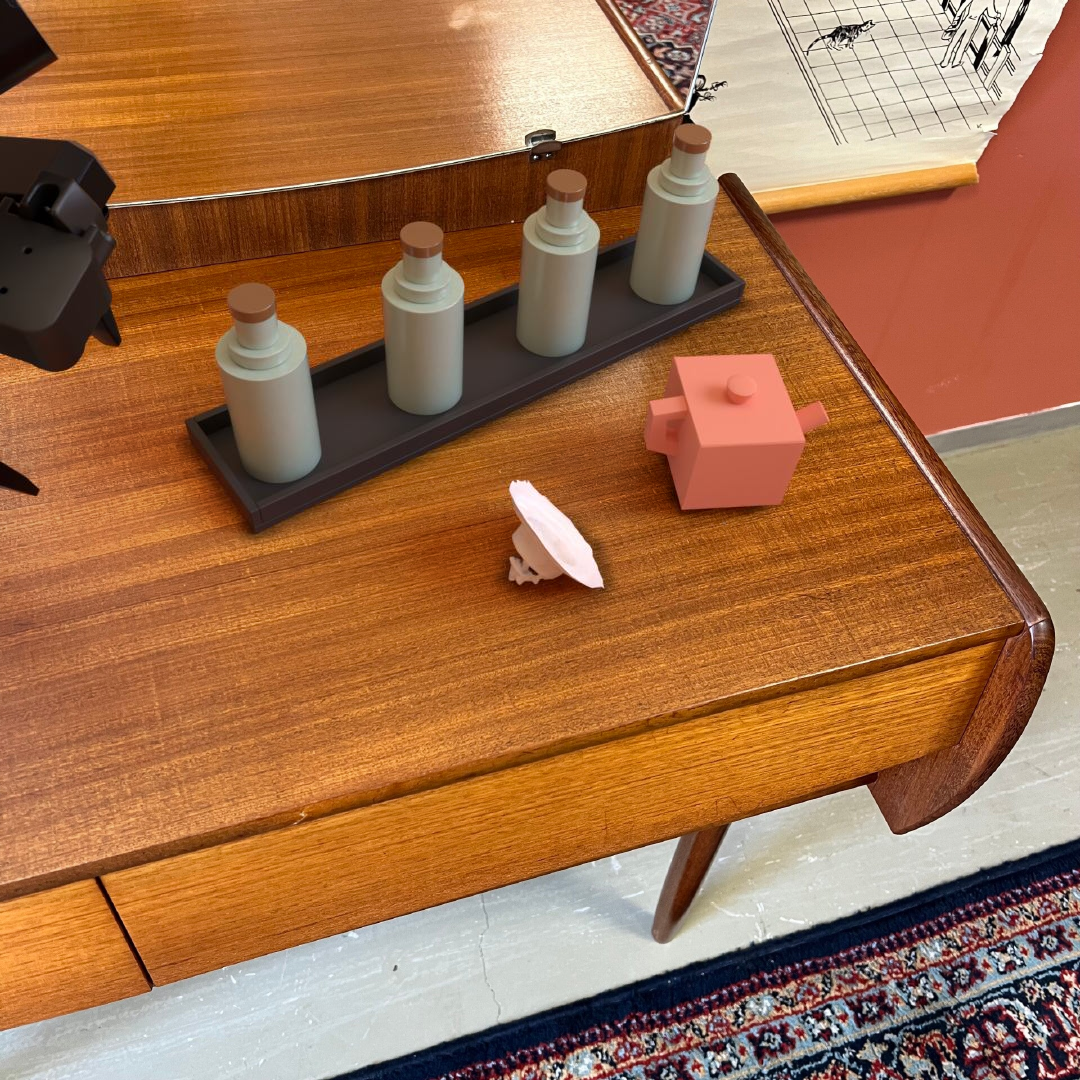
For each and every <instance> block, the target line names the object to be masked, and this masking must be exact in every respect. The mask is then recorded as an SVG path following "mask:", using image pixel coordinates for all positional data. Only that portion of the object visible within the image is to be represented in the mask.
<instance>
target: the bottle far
mask: <svg viewBox="0 0 1080 1080" xmlns="http://www.w3.org/2000/svg"><path fill="white" fill-rule="evenodd" d="M712 139H713V135H712V132H711V131H710V130H709V129H708V128H707V127H705V126H703V125H700V124H697V123H683V124H680V125H678V126H676V128H675V129H674V132H673V137H672V144H673V146H672V150H671V155H670V157H668V158H666V159H665V160H663V161H662V163H661V164H658V165H657V166H655V167H652V169H651V170H650V171H649V172H648V174H647V177H646V182H645V189H644V194H643V200H642V206H641V211H640V216H639V222H638V228H637V233H636V234H637V238H636V244H635V250H634V255H633V261H632V267H631V272H630V278H629V282H630V286H631V288H632V289H633V291H634V292H635V293H636V294H637V295H638V296H640V297H641V298H643V299H644V300H646V301H649V302H652V303H655V304H660V305H674V304H679V303H682V302H684V301H686V300H688V299H689V298H690V297H691V296H692V295H693V293H694V290H695V286H696V282H697V278H698V274H699V270H700V266H701V262H702V258H703V253H704V249H706V245H707V241H708V238H709V232H710V228H711V225H712V221H713V216H714V213H715V212H714V211H715V208H716V204H717V200H718V195H719V192H720V185H719V181H718V180H717V178H716V177H715V176H714V175H713V173H711V169H710V167H709V166H708V165H707V163H706V160H707V155H708V151H709V149H710V148H711V145H712Z"/></svg>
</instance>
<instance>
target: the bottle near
mask: <svg viewBox="0 0 1080 1080" xmlns="http://www.w3.org/2000/svg"><path fill="white" fill-rule="evenodd" d="M444 237H445V235H444V232H443V229H442V228H441V227H439V226H438V225H436V224H435V223H432V222H429V221H413V222H410V223H407V224H406V225H404V226H403V227H402V228H401V230H400V232H399V247H400V249H401V251H402V252H401V253H402V254H401V255H402V256H401V257H402V259H401V260H400V261H399V262H397V263H396V264H395V265H394V266H393V267H392V268H390V269H389V270H388V271H387V272H386V273H385V274H384V276H383V278H382V280H381V283H380V290H381V291H380V292H381V309H382V323H383V325H382V326H383V336H384V337H383V338H384V341H385V357H386V372H387V388H388V394H389V397H390V399H391V400H392V402H393V403H394V404H395V405H396V406H397V407H399V408H400V409H402V410H404V411H406V412H408V413H411V414H415V415H435V414H439V413H443V412H445V411H447V410H449V409H451V408H452V407H453V406H454V405H455V404H456V403H457V402H458V401H459V399H460V398H461V395H462V391H463V341H464V305H465V283H464V280H463V278H462V276H461V275H460V274H459V272H457V270H455V269H454V268H452V267H451V266H450V265H449V264H448V263H447V262H446V261H445V260H444V259H443V249H444V244H445V243H444V242H445V241H444Z"/></svg>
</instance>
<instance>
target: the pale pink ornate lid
mask: <svg viewBox="0 0 1080 1080" xmlns="http://www.w3.org/2000/svg"><path fill="white" fill-rule="evenodd" d="M508 488H509V489H508V490H509V491H508V492H509V494H510V496H511V503H512V508H513V511H514V513H515V514H516V516H517V518H518V519H519V520H520V522H521V523H520V525H519V526H518V527H517V528H516V530H515V531H514V532H513V533H512V535H511V538H512V540H511V541H512V544H513V545H514V547H515V550H516V552H517V553H518V554H519V556H520V557H521V558H522V559H523V560H521V559H520V558H518V557H515V556H510V557H509V561H510V568H509V569H510V570H509V572H508V581H511V582H513V581H515V582H516V584H517V585H518V586H520V585H522V584H523V583H524V582H532V583H533V584H534V585H537V584H538V583H539V582H540V580H542V579H543V580H545V581H546V580H547V581H548V580H554V579H555V578H558V577H559V576H561V575H562V574H565V575H566V576H568V577H570V578H571V579H573V580H574V581H576V582H578V583H581V584H582V585H585V586H586V587H589V588H592V589H594V588H603V589H605V587H604V579H603V577H602V575H601V573H600V570H599V567H598V564H597V562H596V560H595V559H594V557H593V556H594V554H593V548H591V545H590V544H589V543H588V542H587V541H586V540H585V538H584V537H583V535H582V534H581V533H580V532H579V530H578V529H577V528H576V526H575V525H574V523H573V522H572V520H571V519H570V518H569V517H568V516H566V515H565V514H564V513H563V512H562V511H561V510H560V509H558V507H556V506H555V505H554V503H552V502H551V500H549V498H547V497H546V496H545V495H542V494H541V493H540V492H539V491H538V490H537V489H536V488H535V487H534V486H533V484H532V483H531V482H530V481H529V480H527V481H526V479H525V480H519V479H516V481H514V480H512V481H511V483H510V485H509V487H508ZM521 561H522V562H521ZM530 568H531V569H532V570H534V571H535V573H537V575H536V574H533V571H531V570H530Z"/></svg>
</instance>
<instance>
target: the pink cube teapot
mask: <svg viewBox="0 0 1080 1080" xmlns="http://www.w3.org/2000/svg"><path fill="white" fill-rule="evenodd" d="M665 385H666V386H665V390H664V394H663V398H660V399H653V400H649V403H648V407H647V413H646V419H645V423H644V429H643V438H644V442H645V446H646V450H648V451H652V452H656V453H659V454H663V455H666V457H667V462H668V466H669V469H670V473H671V476H672V480H673V484H674V487H675V491H676V494H677V498H678V502H679V505H680V509H681V510H682V511H684V510H704V509H720V508H722V509H723V508H737V507H738V508H739V507H755V506H756V507H758V506H759V507H760V506H774V505H775V506H777V505H782V503H783V500H784V497H785V495H786V493H787V490H788V488H789V486H790V483H791V481H792V478H793V476H794V473H795V471H796V469H797V467H798V464H799V461H800V459H801V456H802V454H803V451H804V449H805V446H806V444H807V441H806V438H805V434H807V433H808V432H811V431H812V430H814V429H817V428H819V427H821V426H824V425H825V424H827V423H829V422H830V418H829V416H828V414H827V412H826V410H825V407H824V406H823V404H822V403H821V401H820V400H817V401H815V402H812V403H811V404H808V405H806V406H804V407H802V408H800V409H797V410H796V411H795V409H794V406H793V403H792V401H791V398H790V395H789V392H788V390H787V388H786V385H785V383H784V379H783V377H782V374H781V372H780V370H779V367H778V365H777V363H776V360H775V357H774V355H773V353H759V354H757V353H756V354H751V353H750V354H723V355H722V354H719V355H718V354H717V355H693V356H673V357H672V360H671V364H670V368H669V372H668V377H667V382H666V384H665Z"/></svg>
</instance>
